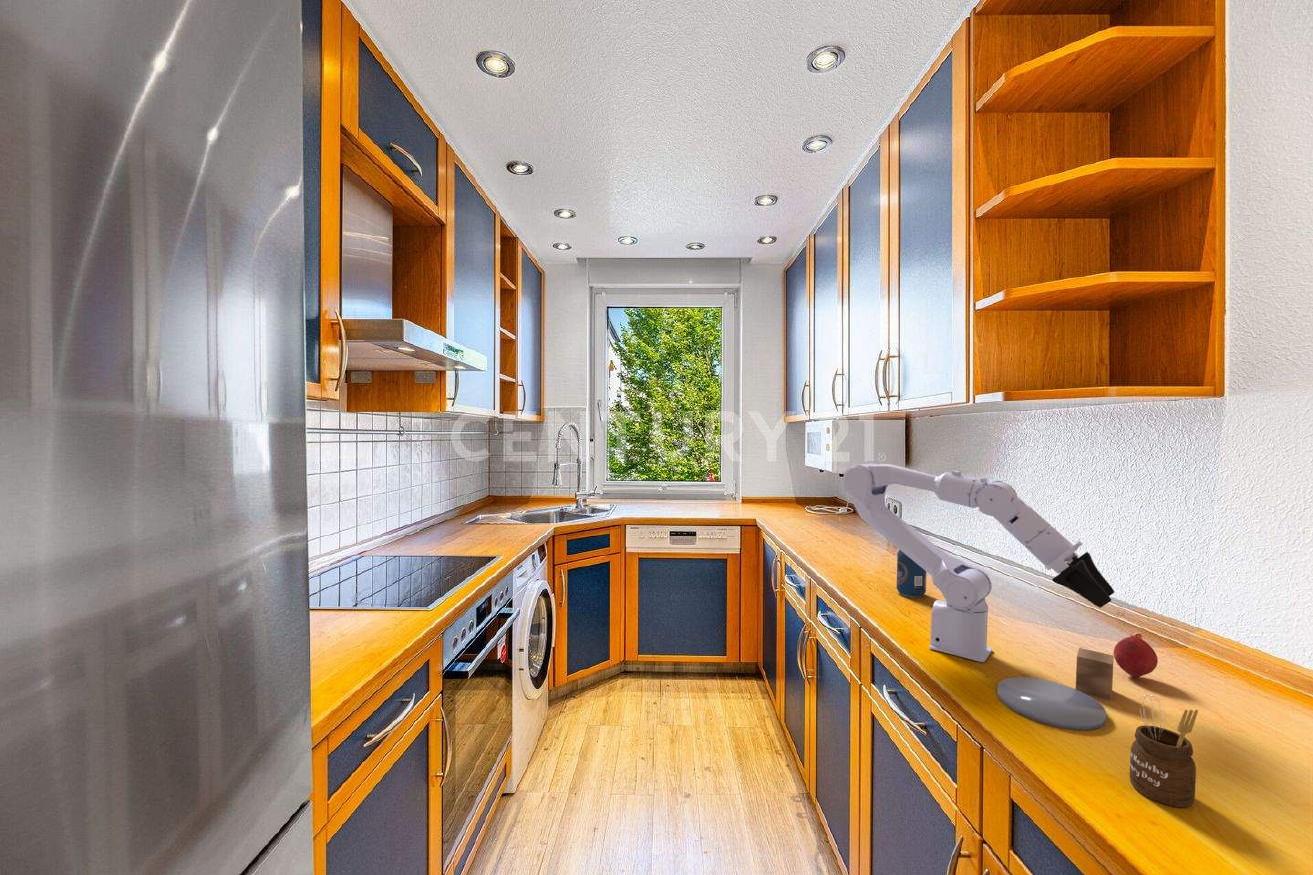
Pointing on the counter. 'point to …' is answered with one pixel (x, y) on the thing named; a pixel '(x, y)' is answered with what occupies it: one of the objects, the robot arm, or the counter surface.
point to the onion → (1135, 656)
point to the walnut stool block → (1094, 673)
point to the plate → (1051, 703)
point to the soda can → (910, 577)
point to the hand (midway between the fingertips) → (1107, 599)
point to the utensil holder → (1164, 762)
